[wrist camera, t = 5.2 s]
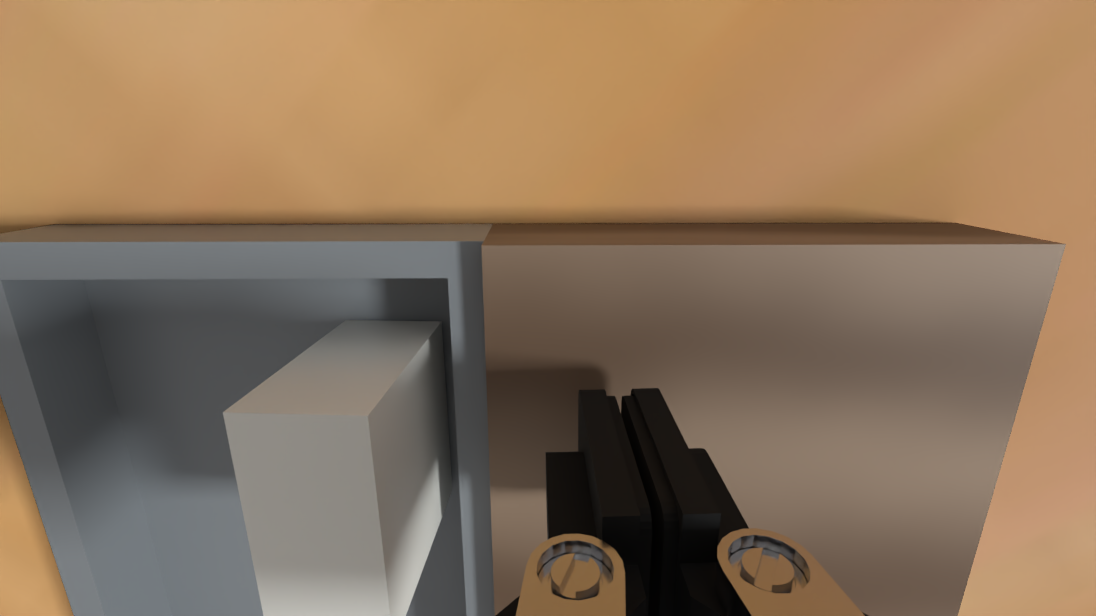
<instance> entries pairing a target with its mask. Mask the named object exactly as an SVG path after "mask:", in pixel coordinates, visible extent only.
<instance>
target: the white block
mask: <svg viewBox="0 0 1096 616" xmlns="http://www.w3.org/2000/svg"><path fill="white" fill-rule="evenodd" d="M223 416H224V421H225V426H226V431H227V436H228V441H229V446H230V451H231V456H232V461H233V466H234V471H235V476H236V481H237V486H238V491H239V496H240V501H241V506H242V511H243V516H244V521H245V526H246V531H247V536H248V541H249V546H250V551H251V556H252V561H253V566H254V571H255V576H256V581H257V586H258V591H259V596H260V601H261V606H262V611H263V616H406V614H407V611H408V608H409V606H410V603H411V600H412V598H413V595H414V592H415V589H416V587H417V584H418V581H419V579H420V576H421V573H422V570H423V568H424V565H425V562H426V560H427V557H428V554H429V551H430V549H431V546H432V543H433V541H434V538H435V535H436V532H437V530H438V527H439V524H440V522H441V519H442V516H443V513H444V511H445V508H446V505H447V503H448V500H449V497H450V494H451V492H452V475H451V460H450V444H449V429H448V413H447V398H446V382H445V367H444V351H443V336H442V321H380V320H345V321H344V322H343V323H341V324H340V325H339V326H337V327H336V328H335V329H333V330H332V331H331V332H329V333H328V334H327V335H325V336H324V337H323V338H321V339H320V340H319V341H317V342H316V343H315V344H313V345H312V346H311V347H309V348H308V349H307V350H305V351H304V352H303V353H301V354H300V355H299V356H297V357H296V358H295V359H293V360H292V361H291V362H289V363H288V364H287V365H285V366H284V367H283V368H281V369H280V370H279V371H277V372H276V373H275V374H273V375H272V376H271V377H269V378H268V379H267V380H265V381H264V382H263V383H261V384H260V385H259V386H257V387H256V388H255V389H253V390H252V391H251V392H249V393H248V394H247V395H245V396H244V397H243V398H241V399H240V400H239V401H237V402H236V403H235V404H233V405H232V406H231V407H229V408H228V409H227V410H225V411H224V412H223Z"/></svg>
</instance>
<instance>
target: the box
mask: <svg viewBox="0 0 1096 616" xmlns="http://www.w3.org/2000/svg"><path fill="white" fill-rule="evenodd" d="M492 225H493V224H53V225H48V226H42V227H36V228H30V229H24V230H18V231H12V232H7V233H1V234H0V396H1V399H2V402H3V405H4V408H5V411H6V414H7V417H8V420H9V423H10V426H11V429H12V432H13V435H14V438H15V441H16V444H17V447H18V450H19V453H20V456H21V459H22V462H23V465H24V468H25V471H26V474H27V477H28V480H29V483H30V486H31V489H32V492H33V495H34V498H35V501H36V504H37V507H38V510H39V513H40V516H41V519H42V522H43V525H44V528H45V531H46V534H47V537H48V540H49V543H50V546H51V549H52V552H53V555H54V558H55V561H56V564H57V567H58V570H59V573H60V576H61V579H62V582H63V585H64V588H65V591H66V594H67V597H68V600H69V603H70V606H71V609H72V612H73V615H74V616H263V611H262V606H261V601H260V596H259V591H258V586H257V581H256V576H255V571H254V566H253V561H252V556H251V551H250V546H249V541H248V536H247V531H246V526H245V521H244V516H243V511H242V506H241V501H240V496H239V491H238V486H237V481H236V476H235V471H234V466H233V461H232V456H231V451H230V446H229V441H228V436H227V431H226V426H225V421H224V416H223V412H224V411H225V410H227V409H228V408H229V407H231V406H232V405H233V404H235V403H236V402H237V401H239V400H240V399H241V398H243V397H244V396H245V395H247V394H248V393H249V392H251V391H252V390H253V389H255V388H256V387H257V386H259V385H260V384H261V383H263V382H264V381H265V380H267V379H268V378H269V377H271V376H272V375H273V374H275V373H276V372H277V371H279V370H280V369H281V368H283V367H284V366H285V365H287V364H288V363H289V362H291V361H292V360H293V359H295V358H296V357H297V356H299V355H300V354H301V353H303V352H304V351H305V350H307V349H308V348H309V347H311V346H312V345H313V344H315V343H316V342H317V341H319V340H320V339H321V338H323V337H324V336H325V335H327V334H328V333H329V332H331V331H332V330H333V329H335V328H336V327H337V326H339V325H340V324H341V323H343V322H344V321H345V320H380V321H442V336H443V351H444V367H445V382H446V398H447V413H448V429H449V444H450V460H451V475H452V492H451V494H450V497H449V500H448V503H447V505H446V508H445V511H444V513H443V516H442V519H441V522H440V524H439V527H438V530H437V532H436V535H435V538H434V541H433V543H432V546H431V549H430V551H429V554H428V557H427V560H426V562H425V565H424V568H423V570H422V573H421V576H420V579H419V581H418V584H417V587H416V589H415V592H414V595H413V598H412V600H411V603H410V606H409V608H408V611H407V614H406V616H495V609H494V581H493V554H492V526H491V498H490V470H489V442H488V414H487V386H486V358H485V330H484V302H483V275H482V247H481V245H482V244H483V242H484V240H485V238H486V236H487V234H488V232H489V230H490V229H491V227H492Z"/></svg>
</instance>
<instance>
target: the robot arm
mask: <svg viewBox="0 0 1096 616" xmlns="http://www.w3.org/2000/svg"><path fill="white" fill-rule="evenodd" d="M546 506H547V540H546V541H545V542H543V543H541V544H540V545H539V546H538V547H537V548H536V549H535V550H534V551H533V552H532V553H531V555H530V557H529V560H528V562H527V565H526V569H525V574H524V579H523V583H522V588H521V593H520V596H519V597H517V598H516V599H515V600H514V601H512V602H511V603H510V604H509V605H508V606H506V607H505V608H504V609H503V610H502V611H500V612H499V613H498V614H497V615H496V616H869V615H867V614H865V613H863V612H861V611H860V610H859V608H858V607H857V606H856V605H855V604H854V603H853V602H852V600H851V599H850V598H849V597H848V596H847V595H846V594H845V592H844V591H843V590H842V589H841V588H840V587H839V585H838V584H837V583H836V582H835V581H834V580H833V579H832V577H831V576H830V575H829V574H828V573H827V572H826V571H825V569H824V568H823V567H822V566H821V565H820V564H819V562H818V561H817V560H816V559H815V558H814V557H813V556H812V555H811V554H810V553H809V552H808V551H807V550H806V549H805V548H804V547H803V546H801V545H800V544H798V543H797V542H795V541H793V540H792V539H790V538H788V537H786V536H784V535H781V534H778V533H776V532H773V531H769V530H763V529H758V528H749V527H748V525H747V524H746V522H745V520H744V518H743V516H742V514H741V513H740V511H739V509H738V507H737V505H736V503H735V502H734V500H733V498H732V496H731V494H730V493H729V491H728V489H727V487H726V485H725V483H724V482H723V480H722V478H721V476H720V474H719V473H718V471H717V469H716V467H715V465H714V463H713V462H712V460H711V458H710V456H709V454H708V453H707V451H706V450H705V449H703V448H688V446H687V444H686V442H685V440H684V438H683V436H682V434H681V432H680V430H679V428H678V426H677V424H676V422H675V420H674V418H673V416H672V414H671V412H670V410H669V408H668V406H667V404H666V402H665V400H664V398H663V396H662V394H661V392H660V390H659V388H639V389H632V390H631V394H630V395H629V396H622V400H621V413H620V409H619V406H618V403H617V400H616V397H615V396H607V395H606V391H605V389H598V390H579V394H578V451H574V452H546Z"/></svg>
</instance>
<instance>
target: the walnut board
mask: <svg viewBox="0 0 1096 616" xmlns="http://www.w3.org/2000/svg"><path fill="white" fill-rule="evenodd" d="M1065 245H1066V244H1062V243H1057V242H1052V241H1047V240H1041V239H1036V238H1031V237H1026V236H1021V235H1016V234H1010V233H1005V232H1000V231H995V230H990V229H985V228H979V227H974V226H969V225H964V224H959V223H667V224H493V225H492V227H491V229H490V230H489V232H488V234H487V236H486V238H485V240H484V242H483V244H482V245H481V247H482V275H483V302H484V330H485V358H486V386H487V414H488V442H489V470H490V498H491V526H492V554H493V581H494V609H495V616H496V615H497V614H498V613H499V612H500V611H502V610H503V609H504V608H505V607H506V606H508V605H509V604H510V603H511V602H512V601H514V600H515V599H516V598H517V597H519V596H520V593H521V588H522V583H523V579H524V574H525V569H526V565H527V562H528V560H529V557H530V555H531V553H532V552H533V551H534V550H535V549H536V548H537V547H538V546H539V545H540V544H541V543H543V542H545V541H546V540H547V506H546V452H574V451H578V394H579V390H598V389H605V391H606V395H607V396H615V397H616V400H617V403H618V406H619V409H620V413H621V400H622V396H629V395H630V394H631V390H632V389H639V388H659V390H660V392H661V394H662V396H663V398H664V400H665V402H666V404H667V406H668V408H669V410H670V412H671V414H672V416H673V418H674V420H675V422H676V424H677V426H678V428H679V430H680V432H681V434H682V436H683V438H684V440H685V442H686V444H687V446H688V448H703V449H705V450H706V451H707V453H708V454H709V456H710V458H711V460H712V462H713V463H714V465H715V467H716V469H717V471H718V473H719V474H720V476H721V478H722V480H723V482H724V483H725V485H726V487H727V489H728V491H729V493H730V494H731V496H732V498H733V500H734V502H735V503H736V505H737V507H738V509H739V511H740V513H741V514H742V516H743V518H744V520H745V522H746V524H747V525H748V527H749V528H758V529H763V530H769V531H773V532H776V533H778V534H781V535H784V536H786V537H788V538H790V539H792V540H793V541H795V542H797V543H798V544H800V545H801V546H803V547H804V548H805V549H806V550H807V551H808V552H809V553H810V554H811V555H812V556H813V557H814V558H815V559H816V560H817V561H818V562H819V564H820V565H821V566H822V567H823V568H824V569H825V571H826V572H827V573H828V574H829V575H830V576H831V577H832V579H833V580H834V581H835V582H836V583H837V584H838V585H839V587H840V588H841V589H842V590H843V591H844V592H845V594H846V595H847V596H848V597H849V598H850V599H851V600H852V602H853V603H854V604H855V605H856V606H857V607H858V608H859V610H860V611H861V612H863V613H865V614H867V615H869V616H957V615H958V612H959V609H960V605H961V602H962V598H963V595H964V591H965V588H966V585H967V581H968V578H969V574H970V571H971V567H972V564H973V561H974V557H975V554H976V550H977V547H978V543H979V540H980V537H981V533H982V530H983V526H984V523H985V519H986V516H987V513H988V509H989V506H990V502H991V499H992V495H993V492H994V489H995V485H996V482H997V478H998V475H999V471H1000V468H1001V465H1002V461H1003V458H1004V454H1005V451H1006V447H1007V444H1008V441H1009V437H1010V434H1011V430H1012V427H1013V423H1014V420H1015V417H1016V413H1017V410H1018V406H1019V403H1020V399H1021V396H1022V393H1023V389H1024V386H1025V382H1026V379H1027V375H1028V372H1029V369H1030V365H1031V362H1032V358H1033V355H1034V351H1035V348H1036V345H1037V341H1038V338H1039V334H1040V331H1041V327H1042V324H1043V321H1044V317H1045V314H1046V310H1047V307H1048V303H1049V300H1050V297H1051V293H1052V290H1053V286H1054V283H1055V279H1056V276H1057V273H1058V269H1059V266H1060V262H1061V259H1062V255H1063V252H1064V249H1065Z"/></svg>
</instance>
